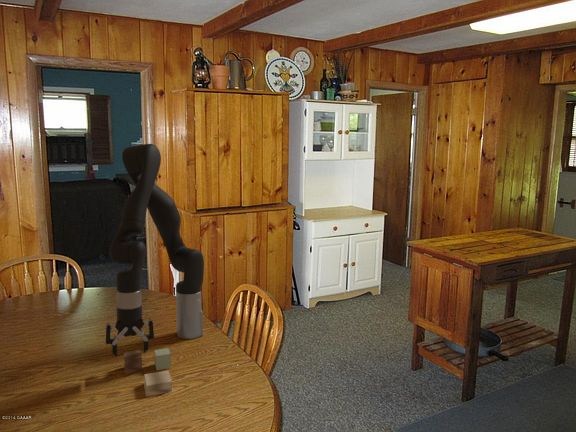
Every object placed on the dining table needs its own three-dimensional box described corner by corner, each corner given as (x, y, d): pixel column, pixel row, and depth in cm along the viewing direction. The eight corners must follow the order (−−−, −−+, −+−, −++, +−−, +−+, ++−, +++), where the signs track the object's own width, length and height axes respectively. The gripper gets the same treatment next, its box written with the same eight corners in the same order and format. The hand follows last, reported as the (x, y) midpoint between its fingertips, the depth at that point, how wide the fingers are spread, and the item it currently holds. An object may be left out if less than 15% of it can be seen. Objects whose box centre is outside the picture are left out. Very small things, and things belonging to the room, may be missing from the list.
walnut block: (140, 367, 157) (140, 350, 156) (142, 374, 152) (141, 357, 151) (124, 370, 155) (123, 352, 154) (125, 377, 150) (124, 359, 149)
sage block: (169, 365, 159) (168, 348, 158) (171, 371, 155) (170, 353, 154) (154, 367, 157) (154, 350, 156) (156, 373, 153) (156, 356, 152)
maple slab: (168, 379, 147) (168, 370, 147) (172, 391, 141) (171, 381, 140) (144, 383, 145) (144, 374, 144) (147, 395, 138) (146, 385, 138)
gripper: (152, 298, 156) (152, 345, 158) (104, 302, 151) (106, 351, 153) (154, 305, 149) (155, 355, 151) (104, 310, 144) (106, 361, 146)
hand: (130, 353), depth 152 cm, fingers open, 8 cm apart
